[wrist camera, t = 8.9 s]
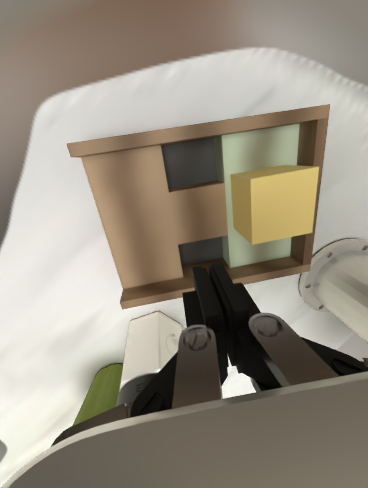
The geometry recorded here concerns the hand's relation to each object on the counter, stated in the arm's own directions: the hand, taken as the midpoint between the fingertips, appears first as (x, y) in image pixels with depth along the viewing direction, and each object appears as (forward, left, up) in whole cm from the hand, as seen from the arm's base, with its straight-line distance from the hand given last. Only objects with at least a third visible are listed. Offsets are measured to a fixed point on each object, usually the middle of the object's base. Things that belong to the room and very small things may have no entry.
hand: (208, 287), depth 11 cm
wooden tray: (-3, 0, -15) cm, 16 cm away
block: (-9, -1, -12) cm, 15 cm away
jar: (+7, +18, -16) cm, 25 cm away
